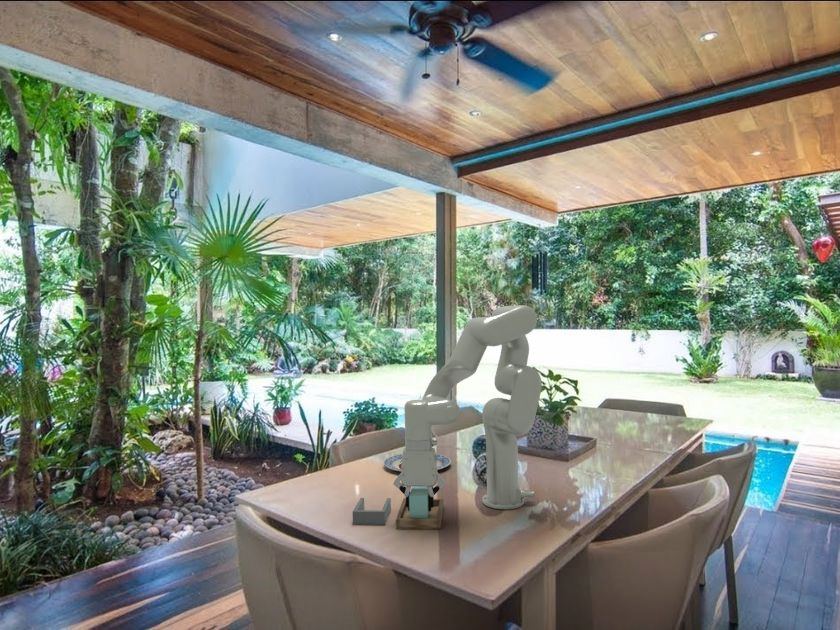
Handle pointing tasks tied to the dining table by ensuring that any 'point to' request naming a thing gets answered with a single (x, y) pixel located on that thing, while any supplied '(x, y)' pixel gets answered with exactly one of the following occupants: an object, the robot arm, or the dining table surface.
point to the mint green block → (418, 502)
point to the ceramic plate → (392, 461)
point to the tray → (420, 523)
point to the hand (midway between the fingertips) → (419, 508)
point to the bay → (371, 514)
